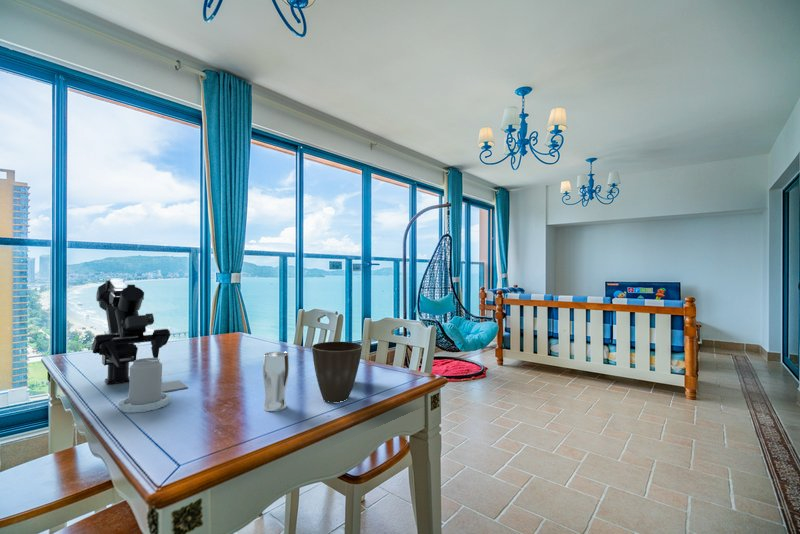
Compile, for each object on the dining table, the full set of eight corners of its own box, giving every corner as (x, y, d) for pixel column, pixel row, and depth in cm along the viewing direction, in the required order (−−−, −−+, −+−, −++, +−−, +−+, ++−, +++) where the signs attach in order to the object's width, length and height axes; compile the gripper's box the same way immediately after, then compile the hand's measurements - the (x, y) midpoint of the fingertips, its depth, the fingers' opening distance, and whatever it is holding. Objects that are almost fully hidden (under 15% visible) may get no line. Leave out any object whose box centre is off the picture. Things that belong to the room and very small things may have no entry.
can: (134, 409, 100) (136, 364, 100) (124, 403, 104) (125, 359, 105) (165, 402, 106) (167, 359, 106) (154, 396, 110) (155, 355, 111)
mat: (143, 387, 121) (143, 385, 121) (179, 381, 128) (179, 380, 128) (150, 394, 114) (150, 393, 114) (187, 388, 120) (187, 387, 120)
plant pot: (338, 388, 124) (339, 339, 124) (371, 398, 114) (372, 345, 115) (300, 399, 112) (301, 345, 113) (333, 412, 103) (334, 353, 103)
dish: (116, 404, 105) (116, 397, 105) (163, 395, 113) (164, 389, 113) (123, 416, 97) (123, 409, 97) (173, 405, 105) (174, 399, 105)
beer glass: (263, 414, 100) (265, 357, 101) (260, 405, 107) (261, 352, 107) (290, 410, 104) (291, 355, 104) (285, 402, 110) (286, 350, 110)
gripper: (95, 306, 107) (103, 352, 99) (169, 303, 121) (181, 343, 114) (88, 330, 112) (96, 375, 105) (160, 324, 126) (170, 364, 119)
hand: (138, 363), depth 110 cm, fingers open, 9 cm apart
